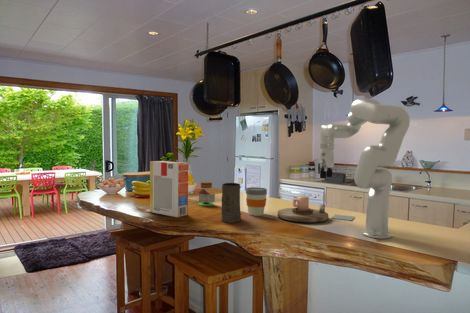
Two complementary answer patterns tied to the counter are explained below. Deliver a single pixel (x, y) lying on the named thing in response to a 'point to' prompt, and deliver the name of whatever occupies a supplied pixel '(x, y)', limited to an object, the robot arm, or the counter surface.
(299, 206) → the pink mug
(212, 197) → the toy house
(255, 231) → the counter surface
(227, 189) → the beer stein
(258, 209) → the reusable coffee cup
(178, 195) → the pasta box
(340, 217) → the mat
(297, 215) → the lazy susan
